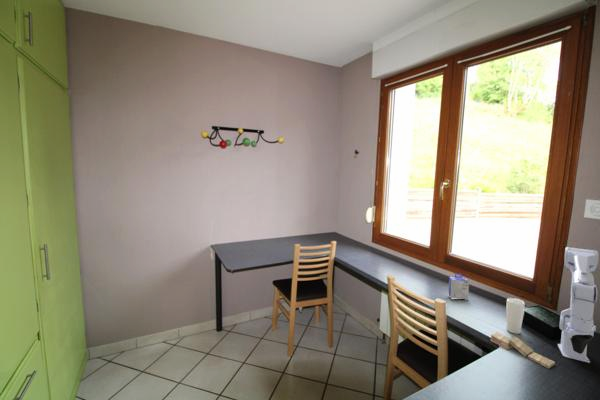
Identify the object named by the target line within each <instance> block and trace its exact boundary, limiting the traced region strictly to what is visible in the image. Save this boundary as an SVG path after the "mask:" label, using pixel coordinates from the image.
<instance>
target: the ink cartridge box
mask: <svg viewBox="0 0 600 400" xmlns="http://www.w3.org/2000/svg"><path fill="white" fill-rule="evenodd" d="M469 288H470V280H469V279H468V277H463V275H462V274H461V273H455V274H454V276H449V277H448V294H449V296H450V298H457V299H466V300H465V301H467V300H468V301H469ZM449 296H448V297H449ZM450 298H449V299H450Z"/></svg>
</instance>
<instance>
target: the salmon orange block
mask: <svg viewBox="0 0 600 400" xmlns="http://www.w3.org/2000/svg"><path fill="white" fill-rule="evenodd" d="M490 342H491V343H493V344H496V345H498V346H500V347H502V348H504V349H506V350H511V348H514V347H513V346H509V347H507V346H505V345H503V344H501V343H499V342H497V341H495V340H493V339H491V338H490Z"/></svg>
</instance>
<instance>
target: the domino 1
mask: <svg viewBox="0 0 600 400" xmlns="http://www.w3.org/2000/svg"><path fill="white" fill-rule="evenodd" d="M490 336H491V337H490V340H491V339H493V340H495V341H497V342H499V343H501V344H503V345H505V346H507V347H509V346H512V345H511V344H510V343H508V342H509V341H510V340H511V339H512V338H510V337H508V336H506V335H504V334H502V333H500V332H496V333H493V334H491V335H490Z"/></svg>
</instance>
